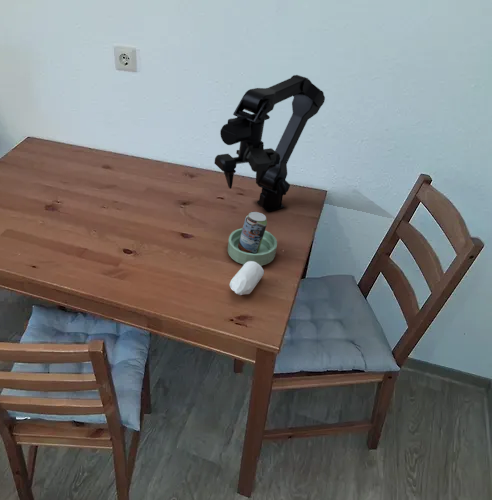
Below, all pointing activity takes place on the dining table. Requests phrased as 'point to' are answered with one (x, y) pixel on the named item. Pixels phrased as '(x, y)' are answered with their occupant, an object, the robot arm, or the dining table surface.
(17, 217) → the dining table surface
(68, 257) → the dining table surface
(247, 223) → the beverage can
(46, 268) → the dining table surface
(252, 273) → the roll
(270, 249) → the bowl
